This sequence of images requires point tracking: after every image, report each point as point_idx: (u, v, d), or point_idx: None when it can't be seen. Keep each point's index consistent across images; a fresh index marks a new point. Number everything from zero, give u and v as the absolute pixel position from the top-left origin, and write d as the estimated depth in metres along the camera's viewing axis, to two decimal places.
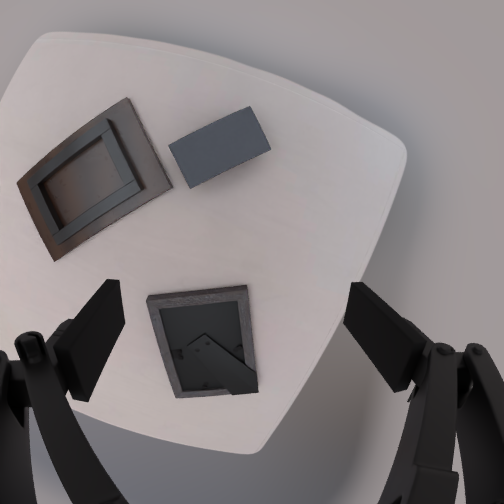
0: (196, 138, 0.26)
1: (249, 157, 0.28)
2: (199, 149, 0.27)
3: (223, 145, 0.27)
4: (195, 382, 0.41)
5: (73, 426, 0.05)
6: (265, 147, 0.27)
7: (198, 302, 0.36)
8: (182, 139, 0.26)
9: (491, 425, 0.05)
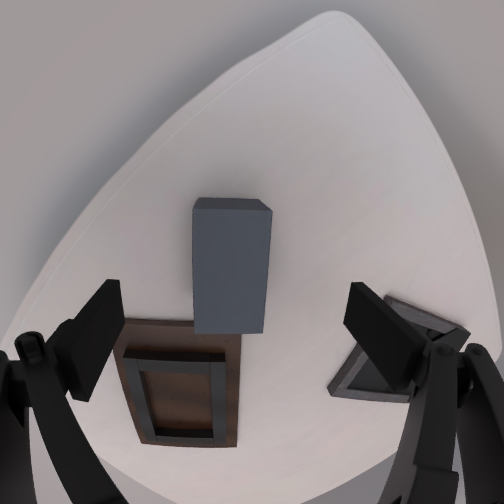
0: (203, 299, 0.19)
1: (267, 246, 0.19)
2: (220, 302, 0.20)
3: (232, 272, 0.19)
4: None
5: (73, 426, 0.05)
6: (265, 218, 0.18)
7: None
8: (196, 315, 0.20)
9: (491, 425, 0.05)
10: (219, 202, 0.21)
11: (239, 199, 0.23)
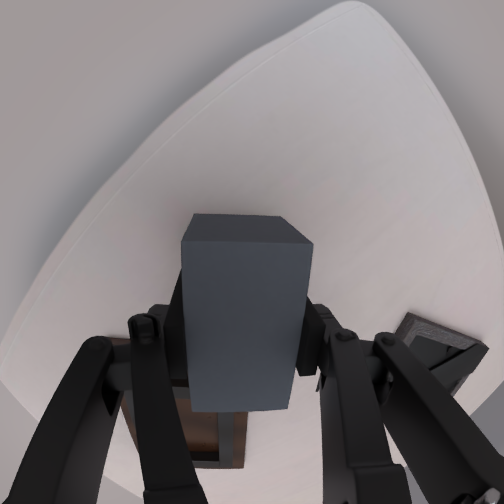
0: (203, 373, 0.12)
1: (302, 299, 0.12)
2: (228, 377, 0.12)
3: (246, 337, 0.12)
4: None
5: (171, 410, 0.07)
6: (302, 256, 0.11)
7: None
8: (193, 392, 0.13)
9: (429, 420, 0.06)
10: (225, 224, 0.13)
11: (254, 217, 0.16)
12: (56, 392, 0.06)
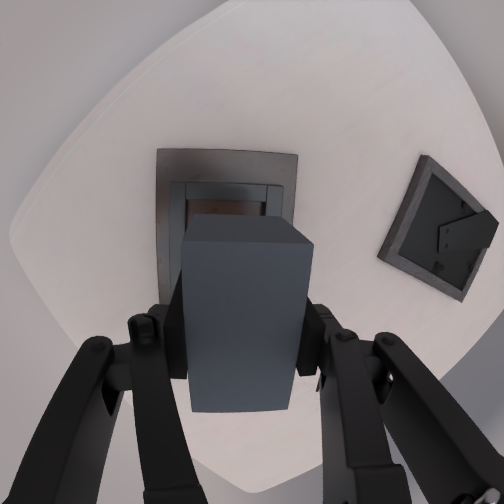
0: (203, 374, 0.12)
1: (302, 300, 0.12)
2: (228, 377, 0.12)
3: (246, 338, 0.12)
4: (463, 272, 0.32)
5: (170, 410, 0.07)
6: (302, 256, 0.11)
7: (415, 209, 0.28)
8: (193, 392, 0.12)
9: (429, 421, 0.06)
10: (225, 224, 0.13)
11: (254, 217, 0.16)
12: (56, 392, 0.06)
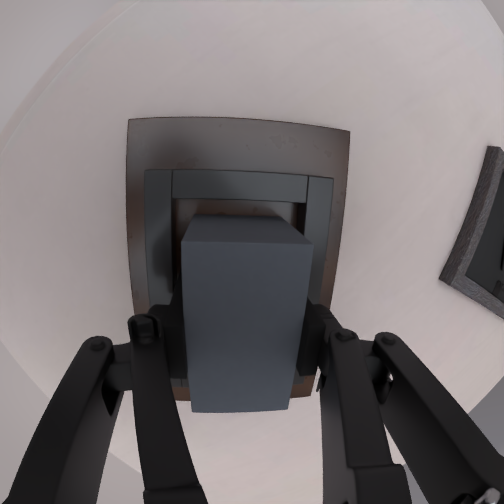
0: (203, 374, 0.12)
1: (302, 300, 0.12)
2: (228, 377, 0.12)
3: (247, 338, 0.12)
4: None
5: (170, 410, 0.07)
6: (302, 257, 0.11)
7: (486, 216, 0.18)
8: (193, 392, 0.12)
9: (429, 421, 0.06)
10: (225, 225, 0.13)
11: (254, 217, 0.16)
12: (56, 392, 0.06)
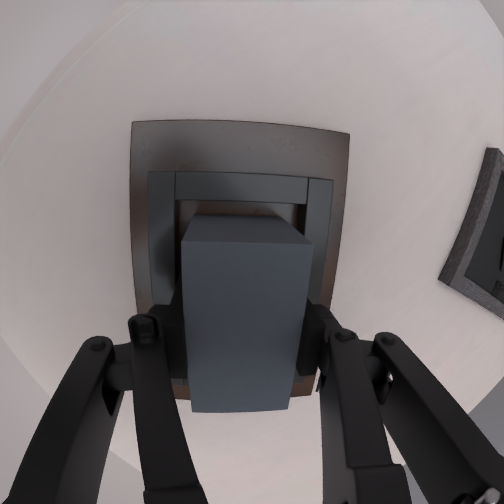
0: (203, 374, 0.12)
1: (302, 300, 0.12)
2: (228, 377, 0.12)
3: (247, 338, 0.12)
4: None
5: (170, 410, 0.07)
6: (302, 257, 0.11)
7: (485, 217, 0.18)
8: (193, 392, 0.12)
9: (429, 421, 0.06)
10: (225, 225, 0.13)
11: (254, 217, 0.16)
12: (56, 392, 0.06)
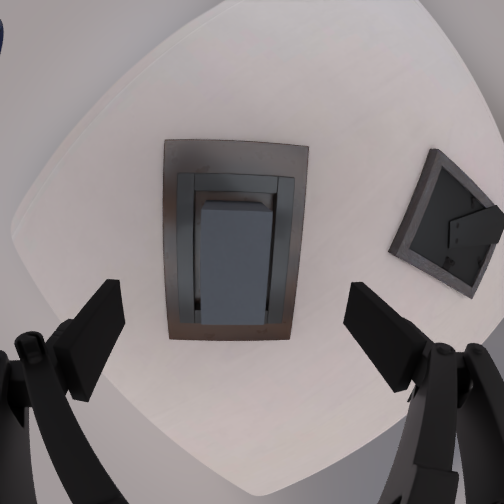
0: (210, 292, 0.21)
1: (268, 244, 0.21)
2: (225, 295, 0.22)
3: (236, 267, 0.21)
4: (473, 268, 0.31)
5: (72, 426, 0.05)
6: (266, 219, 0.20)
7: (426, 203, 0.27)
8: (202, 307, 0.22)
9: (491, 425, 0.05)
10: (225, 204, 0.23)
11: (243, 202, 0.25)
12: None
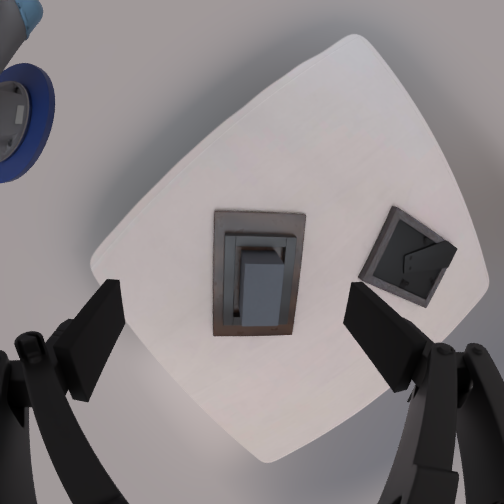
0: (248, 308, 0.38)
1: (281, 281, 0.37)
2: (256, 309, 0.38)
3: (263, 294, 0.37)
4: (426, 285, 0.48)
5: (73, 426, 0.05)
6: (281, 268, 0.36)
7: (385, 245, 0.43)
8: (243, 316, 0.38)
9: (491, 425, 0.05)
10: (255, 256, 0.39)
11: (264, 251, 0.41)
12: None
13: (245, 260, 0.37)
